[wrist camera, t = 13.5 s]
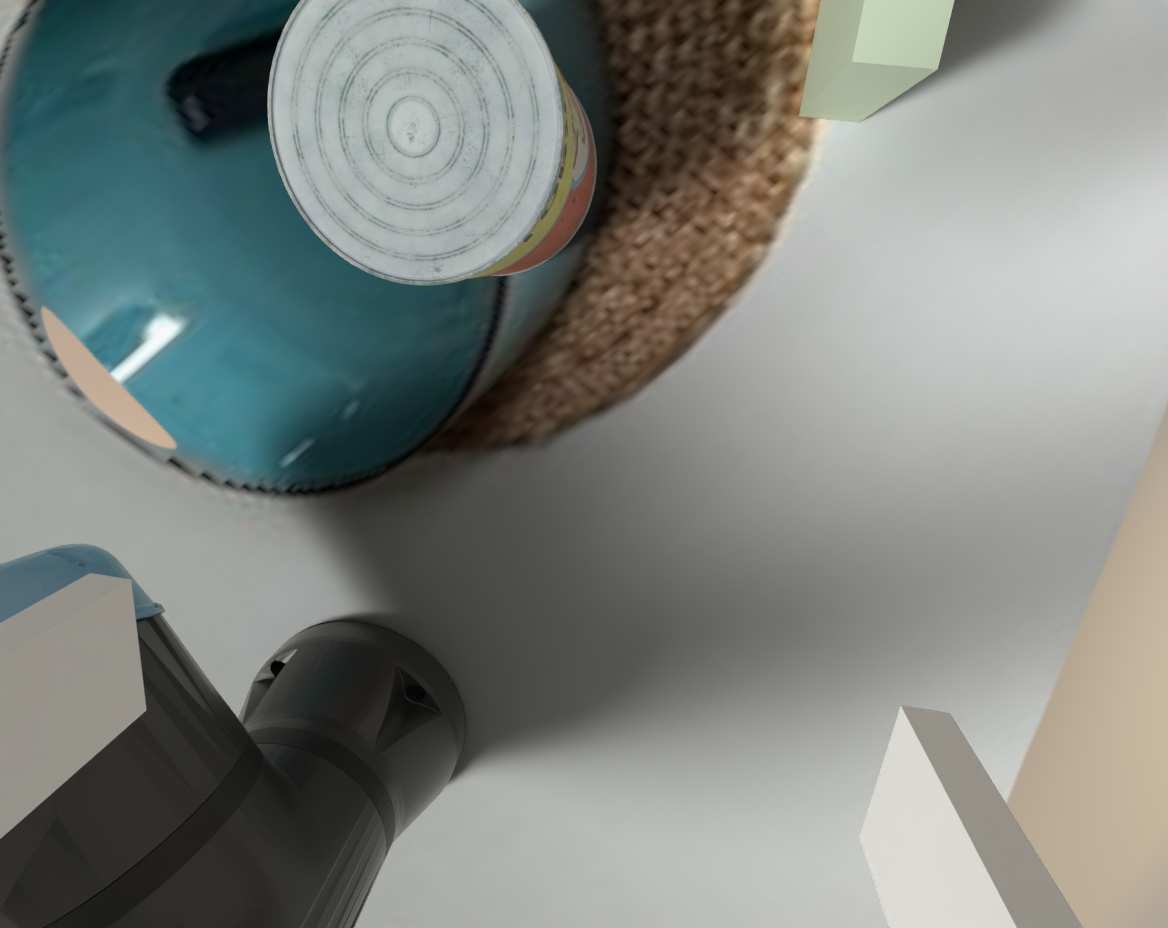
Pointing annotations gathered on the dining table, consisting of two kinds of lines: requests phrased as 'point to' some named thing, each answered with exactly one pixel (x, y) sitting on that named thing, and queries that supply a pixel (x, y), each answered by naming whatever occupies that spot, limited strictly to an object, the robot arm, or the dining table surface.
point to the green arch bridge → (871, 54)
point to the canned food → (429, 136)
